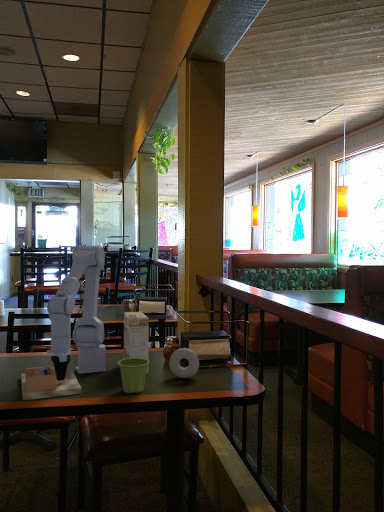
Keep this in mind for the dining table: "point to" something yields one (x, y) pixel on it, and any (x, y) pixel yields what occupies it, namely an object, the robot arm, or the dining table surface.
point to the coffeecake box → (136, 335)
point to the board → (62, 388)
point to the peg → (41, 372)
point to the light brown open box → (40, 379)
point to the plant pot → (133, 374)
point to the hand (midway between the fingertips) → (60, 379)
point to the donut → (189, 356)
